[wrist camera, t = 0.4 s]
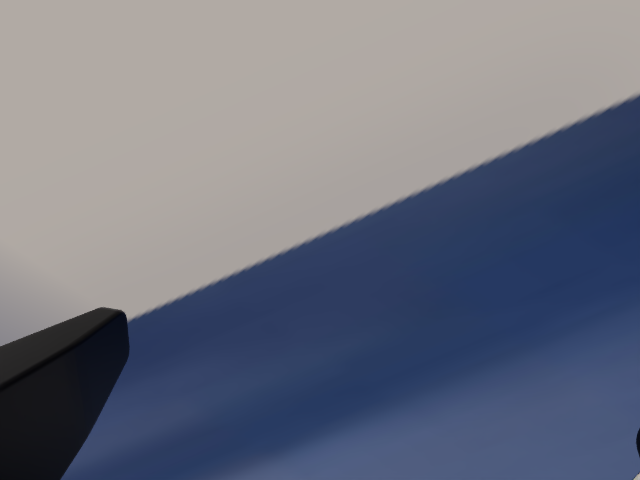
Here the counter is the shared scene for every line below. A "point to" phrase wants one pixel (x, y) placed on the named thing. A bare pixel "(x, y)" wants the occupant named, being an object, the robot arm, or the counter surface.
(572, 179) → the counter surface
